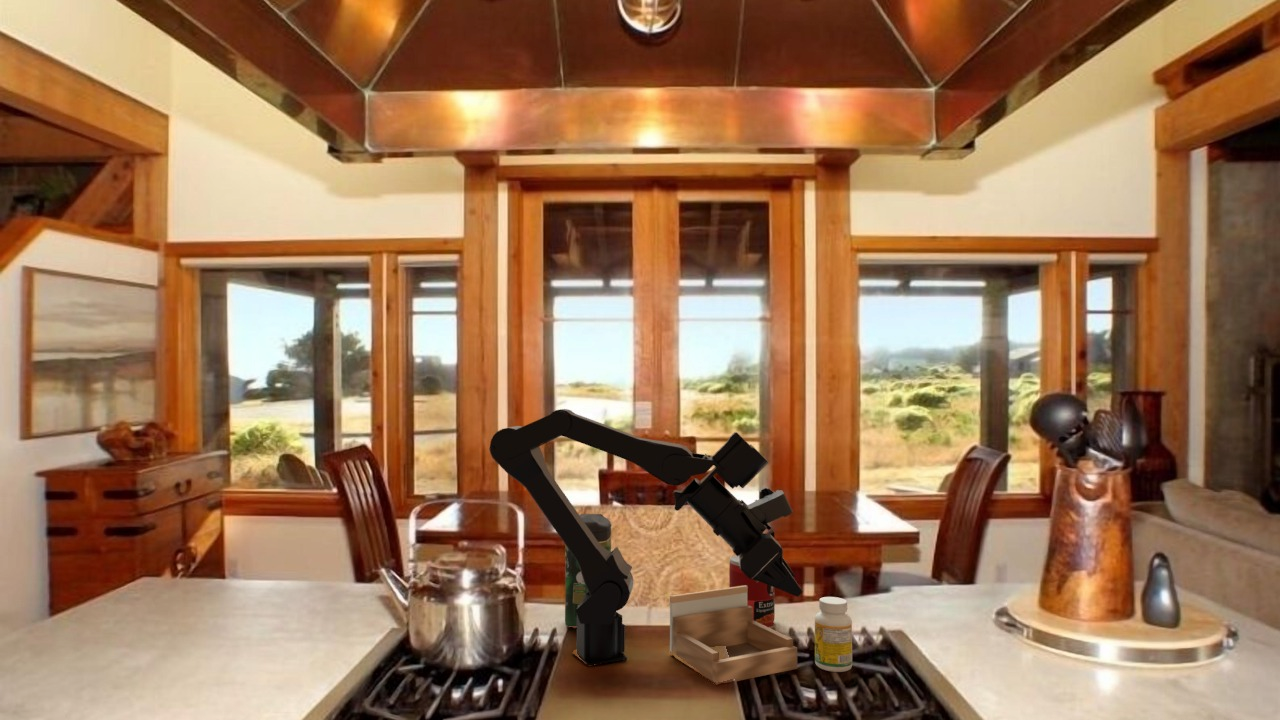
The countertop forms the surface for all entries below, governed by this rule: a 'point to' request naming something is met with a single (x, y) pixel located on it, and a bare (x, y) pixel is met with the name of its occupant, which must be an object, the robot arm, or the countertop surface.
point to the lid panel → (706, 603)
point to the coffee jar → (573, 576)
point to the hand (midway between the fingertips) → (796, 585)
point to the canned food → (754, 593)
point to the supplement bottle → (833, 635)
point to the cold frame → (732, 645)
